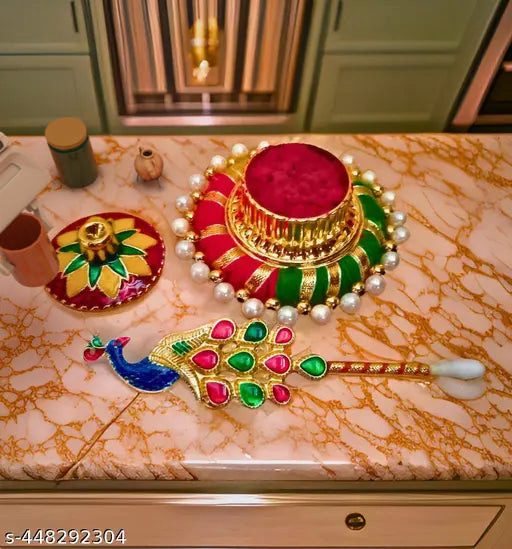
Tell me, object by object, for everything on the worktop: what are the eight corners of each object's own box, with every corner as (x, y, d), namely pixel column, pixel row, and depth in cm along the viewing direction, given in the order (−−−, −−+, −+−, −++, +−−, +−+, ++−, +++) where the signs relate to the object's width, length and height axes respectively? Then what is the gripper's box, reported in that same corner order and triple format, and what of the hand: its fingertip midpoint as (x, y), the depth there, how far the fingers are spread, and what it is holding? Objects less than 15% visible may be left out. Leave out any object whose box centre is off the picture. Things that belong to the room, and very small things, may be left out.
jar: (67, 193, 118) (52, 151, 108) (54, 168, 122) (38, 125, 112) (104, 179, 121) (92, 137, 110) (90, 154, 124) (77, 111, 114)
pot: (142, 168, 123) (132, 188, 119) (139, 138, 117) (128, 157, 113) (169, 173, 123) (159, 193, 119) (167, 143, 117) (157, 163, 113)
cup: (21, 294, 83) (0, 259, 75) (7, 260, 86) (-15, 224, 78) (66, 275, 85) (50, 240, 77) (50, 243, 88) (34, 205, 80)
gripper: (-109, 229, 68) (-15, 305, 74) (9, 124, 78) (83, 199, 84) (-118, 236, 72) (-29, 308, 79) (-6, 136, 83) (66, 206, 89)
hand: (30, 250), depth 81 cm, fingers closed on cup, 7 cm apart
